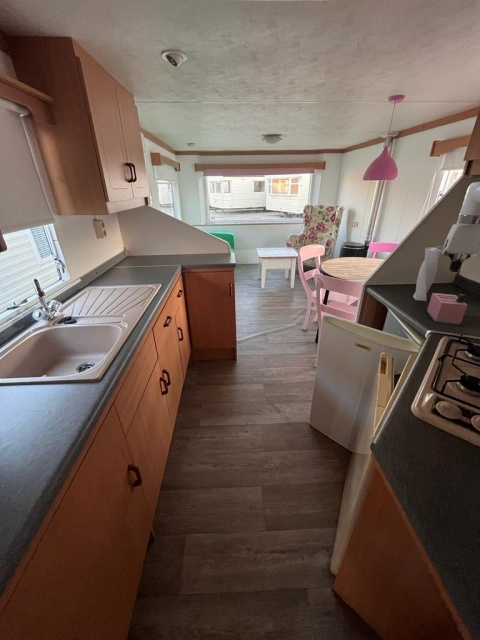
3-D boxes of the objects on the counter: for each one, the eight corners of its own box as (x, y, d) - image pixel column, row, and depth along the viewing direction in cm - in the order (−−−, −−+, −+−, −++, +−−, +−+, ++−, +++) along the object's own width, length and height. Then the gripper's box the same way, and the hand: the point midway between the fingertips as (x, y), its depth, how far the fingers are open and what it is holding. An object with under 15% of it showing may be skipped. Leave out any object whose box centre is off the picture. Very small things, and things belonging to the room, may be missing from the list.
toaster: (449, 313, 123) (455, 294, 119) (460, 325, 112) (468, 305, 108) (426, 310, 126) (432, 292, 122) (435, 322, 114) (441, 302, 110)
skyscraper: (430, 302, 136) (447, 246, 124) (413, 300, 138) (429, 245, 126) (425, 297, 143) (441, 243, 131) (409, 295, 145) (424, 243, 133)
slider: (461, 300, 111) (464, 294, 110) (463, 302, 110) (466, 295, 108) (455, 300, 112) (457, 293, 111) (457, 301, 110) (459, 295, 109)
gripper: (491, 220, 95) (472, 270, 103) (442, 219, 100) (428, 267, 107) (502, 222, 89) (481, 275, 97) (449, 221, 93) (433, 272, 101)
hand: (453, 271), depth 102 cm, fingers closed
